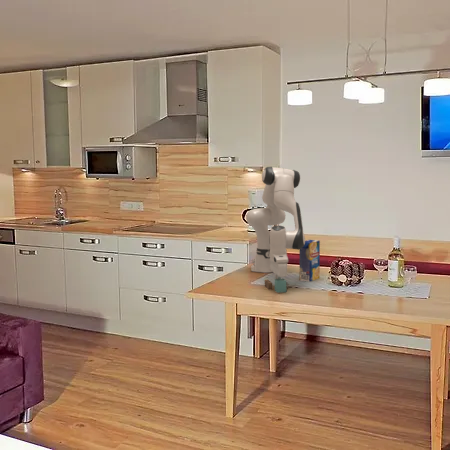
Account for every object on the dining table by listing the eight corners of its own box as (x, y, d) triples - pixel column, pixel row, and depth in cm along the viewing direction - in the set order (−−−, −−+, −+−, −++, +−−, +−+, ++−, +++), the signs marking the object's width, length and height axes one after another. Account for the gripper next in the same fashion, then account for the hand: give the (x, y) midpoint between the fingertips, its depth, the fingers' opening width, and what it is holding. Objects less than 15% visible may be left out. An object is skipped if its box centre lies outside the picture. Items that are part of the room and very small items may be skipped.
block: (274, 290, 302) (274, 279, 301) (283, 289, 303) (283, 278, 302) (277, 292, 297) (277, 281, 296) (286, 292, 298) (286, 280, 297)
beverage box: (319, 278, 330) (319, 240, 328) (309, 281, 322) (309, 242, 319) (309, 276, 335) (309, 239, 332) (299, 280, 326) (299, 242, 324)
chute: (264, 286, 313) (264, 279, 312) (283, 285, 314) (282, 278, 314) (268, 289, 304) (268, 283, 303) (287, 288, 306) (287, 282, 305)
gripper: (267, 253, 312) (267, 278, 313) (277, 260, 292) (277, 286, 293) (278, 253, 313) (279, 278, 314) (289, 259, 293) (289, 286, 294)
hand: (278, 282), depth 304 cm, fingers closed
